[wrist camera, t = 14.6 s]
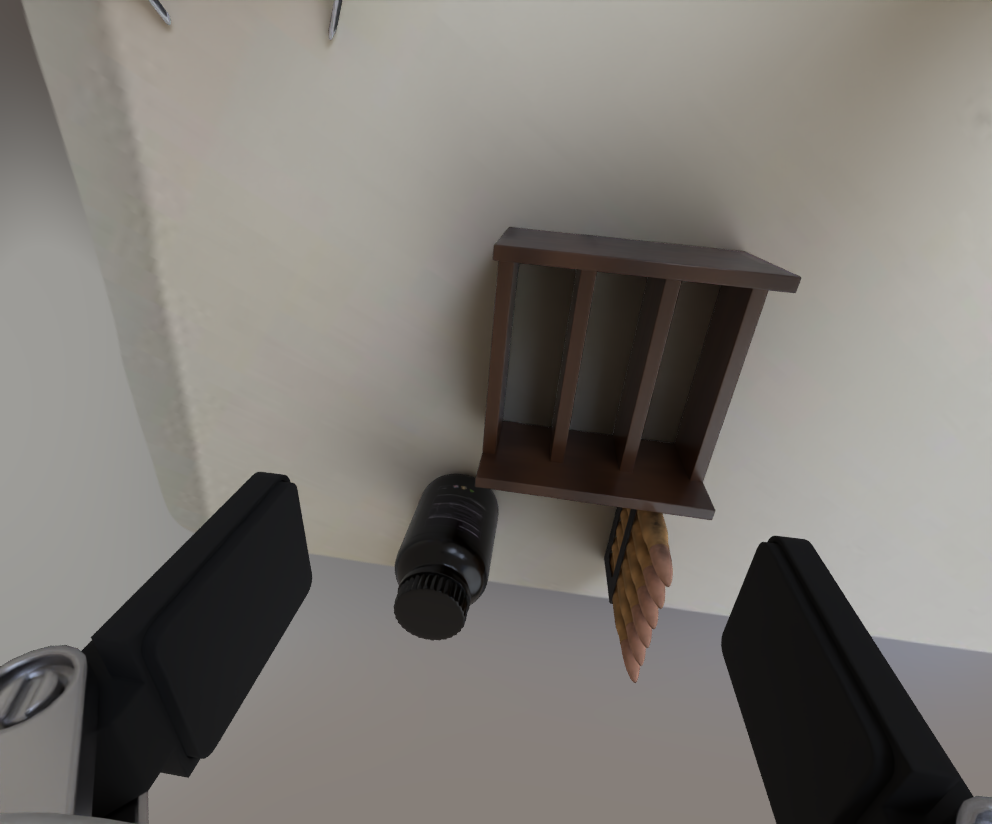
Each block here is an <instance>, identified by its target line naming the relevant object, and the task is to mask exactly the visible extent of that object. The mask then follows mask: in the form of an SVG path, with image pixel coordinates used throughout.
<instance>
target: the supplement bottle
mask: <svg viewBox="0 0 992 824" xmlns="http://www.w3.org/2000/svg"><path fill="white" fill-rule="evenodd" d="M475 480H476V478H474V477H472V476H469V475H464V474H449V475H444V476H441V477H439V478H437V479H435V480H434V481H432V482H431V483H430V484H429V485H428V486H427V487H426V489H425V490H424V492H423V494H422V496H421V499H420V501H419V503H418V506H417V508H416V510H415V513H414V515H413V518H412V520H411V523H410V525H409V527H408V530H407V532H406V535H405V537H404V540H403V542H402V544H401V547H400V549H399V552H398V555H397V558H396V561H395V575H396V579H397V582H398V584H399V588H398V594H397V597H396V599H395V604H394V614H395V615H396V619H397V620H398V623H399V624H400V625H401V626H402V627H403V628H404V629H406V631H407V632H410V633H411V634H412V635H415V636H418V637H419V638H424V639H430V640H441V639H447V638H451V637H452V636H453V635H456V634H457V633H458V632H460V631H461V628H463V627H464V624H465V621H466V616H467V612H468V610H469V606H470V605H471V604H473V603H474V602H475V601H476V600H477V599H478V598H479V597H480V596H481V595H482V593H483V592H484V590H485V588H486V585H487V581H488V576H489V570H490V564H491V558H492V552H493V546H494V539H495V533H496V527H497V520H498V503H497V500H496V497H495V495H494V494H493V492H492V491H491V489H487V488H480V487H475Z"/></svg>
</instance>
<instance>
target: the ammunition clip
mask: <svg viewBox="0 0 992 824" xmlns="http://www.w3.org/2000/svg"><path fill="white" fill-rule="evenodd" d="M604 560H605V569H606V577H607V585H608V593H609V602H610V603H611V604H613V609H614V617H615V624H616V629H617V632H618V635H619V638H620V644H621V648H622V655H623V659H624V663H625V666H626V669H627V672H628V674H629V676H630V678H631V680H632V681H633V682H634V683H636V682H637V680H638V676H639V670H640V666H642V665H643V662H644V659H645V650H646V648H648V647H649V645H650V642H651V635H652V629H655V628H656V625H657V621H658V608H660V609H661V608H662V607H663V605H664V601H665V586H666V587H669V586H670V585H671V582H672V575H673V568H672V560H671V555H670V550H669V545H668V533H667V528H666V524H665V521H664V517H663V514H662V513H657V512H650V511H643V510H636V509H629V508H622V507H617V509H616V513H615V517H614V521H613V525H612V529H611V533H610V537H609V541H608V545H607V549H606V553H605V557H604Z"/></svg>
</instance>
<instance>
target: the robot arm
mask: <svg viewBox="0 0 992 824" xmlns="http://www.w3.org/2000/svg"><path fill="white" fill-rule="evenodd" d="M311 583H312V572H311V566H310V561H309V555H308V549H307V543H306V537H305V531H304V525H303V519H302V514H301V508H300V502H299V496H298V490H297V486H296V485H295V484H294V483H291V482H290V479H289V478H288V476H286V475H282V474H274V473H266V472H257V473H255V474H254V475H253V476H252V477H251V478H250V479H249V480H248V481H247V482H246V483H245V484H244V485H243V486H242V487H241V488H240V489H239V490H238V491H237V492H236V493H235V494H234V495H233V496H232V497H231V498H230V499H229V500H228V501H227V502H226V503H225V504H224V505H223V506H222V507H221V508H220V509H219V510H218V511H217V512H216V513H215V514H214V515H213V516H212V517H211V518H210V519H209V520H208V521H207V522H206V523H205V524H204V525H203V526H202V527H201V528H200V529H199V530H198V531H197V532H196V533H195V534H194V535H193V536H192V537H191V538H190V539H189V540H188V541H187V542H186V543H185V544H184V545H183V546H182V547H181V548H180V549H179V550H178V551H177V552H176V553H175V554H174V555H173V556H172V557H171V558H170V559H169V560H168V561H167V562H166V563H165V564H164V565H163V566H162V567H161V568H160V569H159V570H158V571H157V572H156V573H155V574H154V575H153V576H152V577H151V578H150V579H149V580H148V581H147V582H146V583H145V584H144V585H143V586H142V587H141V588H140V589H139V590H138V591H137V592H136V593H135V594H134V595H133V596H132V597H131V598H130V599H129V600H128V601H127V602H126V603H125V604H124V605H123V606H122V607H121V608H120V609H119V610H118V611H117V612H116V613H115V614H114V615H113V616H112V617H111V618H110V619H109V620H108V621H107V622H106V623H105V624H104V625H103V626H102V627H101V628H100V629H99V630H98V631H97V632H96V633H95V634H94V635H93V636H92V637H91V638H92V641H91V642H90V643H89V644H88V645H87V646H86V647H85V648H84V649H83V650H82V651H80V650H79V649H78V648H74V647H71V646H67V645H60V646H48V647H44V648H41V649H37V650H33V651H30V652H28V653H26V654H23V655H21V656H19V657H16V658H14V659H12V660H10V661H8V662H7V663H5V664H4V665H2V666H0V824H148V790H149V789H150V787H151V786H152V784H153V783H154V781H155V780H156V778H157V777H158V775H159V774H160V772H161V773H166V774H172V775H177V776H182V777H189V776H190V775H191V773H192V772H193V770H194V768H195V766H196V765H197V763H198V762H199V760H200V758H201V759H202V758H203V759H204V758H206V757H208V756H209V755H210V754H211V753H212V752H213V750H214V749H215V747H216V746H217V744H218V742H219V741H220V739H221V737H222V736H223V734H224V733H225V731H226V729H227V728H228V726H229V724H230V723H231V721H232V719H233V718H234V716H235V714H236V713H237V711H238V709H239V708H240V706H241V704H242V703H243V701H244V699H245V698H246V696H247V694H248V693H249V691H250V689H251V688H252V686H253V684H254V683H255V681H256V679H257V677H258V676H259V674H260V673H261V671H262V669H263V667H264V666H265V664H266V662H267V661H268V659H269V657H270V656H271V654H272V652H273V651H274V649H275V647H276V646H277V644H278V642H279V641H280V639H281V637H282V636H283V634H284V632H285V631H286V629H287V627H288V626H289V624H290V622H291V621H292V619H293V617H294V615H295V614H296V612H297V611H298V609H299V607H300V606H301V604H302V602H303V601H304V599H305V597H306V596H307V594H308V592H309V590H310V587H311ZM721 643H722V644H721V646H722V652H723V656H724V659H725V663H726V666H727V669H728V672H729V675H730V678H731V681H732V685H733V688H734V691H735V694H736V697H737V701H738V703H739V707H740V710H741V713H742V716H743V719H744V722H745V725H746V729H747V732H748V735H749V738H750V741H751V744H752V748H753V751H754V754H755V757H756V760H757V764H758V767H759V770H760V773H761V776H762V779H763V782H764V786H765V789H766V792H767V795H768V798H769V801H770V805H771V808H772V811H773V814H774V817H775V820H776V823H777V824H992V797H983V796H975V797H973V795H972V794H971V792H970V790H969V789H968V787H967V786H966V784H965V783H964V781H963V779H962V778H961V776H960V775H959V773H958V772H957V770H956V768H955V767H954V766H953V764H952V762H951V761H950V759H949V758H948V756H947V754H946V753H945V751H944V750H943V748H942V747H941V745H940V743H939V742H938V740H937V739H936V737H935V736H934V734H933V733H932V731H931V729H930V728H929V726H928V725H927V723H926V722H925V720H924V719H923V717H922V715H921V714H920V712H919V711H918V709H917V708H916V706H915V705H914V703H913V701H912V700H911V698H910V697H909V695H908V694H907V692H906V690H905V689H904V687H903V686H902V684H901V683H900V681H899V680H898V678H897V676H896V675H895V673H894V672H893V670H892V669H891V667H890V665H889V664H888V662H887V661H886V659H885V658H884V656H883V655H882V653H881V651H880V650H879V648H878V647H877V645H876V644H875V642H874V641H873V639H872V637H871V636H870V634H869V633H868V631H867V630H866V628H865V627H864V625H863V624H862V622H861V620H860V619H859V617H858V616H857V614H856V613H855V611H854V609H853V608H852V606H851V605H850V603H849V602H848V600H847V599H846V597H845V595H844V594H843V592H842V591H841V589H840V588H839V586H838V585H837V583H836V581H835V580H834V578H833V577H832V575H831V574H830V572H829V570H828V569H827V567H826V566H825V564H824V563H823V561H822V560H821V558H820V556H819V555H818V553H817V552H816V550H815V549H814V547H813V545H812V544H811V543H810V542H809V541H807V540H805V539H798V538H790V537H781V536H772V537H771V538H770V539H769V540H768V542H761V543H760V544H759V546H758V548H757V550H756V553H755V555H754V558H753V560H752V563H751V565H750V567H749V570H748V572H747V575H746V577H745V580H744V582H743V585H742V587H741V590H740V592H739V595H738V597H737V600H736V602H735V604H734V607H733V609H732V612H731V614H730V617H729V619H728V622H727V624H726V627H725V629H724V632H723V635H722V642H721Z"/></svg>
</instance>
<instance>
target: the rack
mask: <svg viewBox="0 0 992 824" xmlns="http://www.w3.org/2000/svg"><path fill="white" fill-rule="evenodd" d="M493 260H495V261H498V273H497V285H496V297H495V309H494V321H493V332H492V344H491V356H490V368H489V380H488V392H487V404H486V416H485V428H484V440H483V452H482V456H481V460H480V463H479V467H478V471H477V474H476V480H475V487H480V488H487V489H494V490H501V491H508V492H516V493H523V494H530V495H537V496H544V497H551V498H558V499H565V500H572V501H579V502H586V503H594V504H601V505H608V506H615V507H622V508H629V509H636V510H643V511H650V512H657V513H664V514H672V515H679V516H686V517H693V518H700V519H707V520H712V518H713V516H714V513H715V509H714V506H713V504H712V502H711V500H710V497H709V495H708V493H707V491H706V489H705V486H704V484H703V480H704V477H705V474H706V471H707V468H708V465H709V463H710V460H711V457H712V454H713V451H714V448H715V445H716V442H717V439H718V436H719V433H720V430H721V428H722V425H723V422H724V419H725V416H726V413H727V410H728V407H729V404H730V401H731V398H732V395H733V393H734V390H735V387H736V384H737V381H738V378H739V375H740V372H741V369H742V366H743V363H744V361H745V358H746V355H747V352H748V349H749V346H750V343H751V340H752V337H753V334H754V331H755V328H756V326H757V323H758V320H759V317H760V314H761V311H762V308H763V305H764V302H765V299H766V296H767V293H768V291H769V290H770V291H779V292H789V293H796V291H797V288H798V286H799V283H800V280H801V277H800V276H798V275H796V274H793V273H791V272H789V271H787V270H785V269H782V268H780V267H778V266H776V265H774V264H772V263H769V262H767V261H765V260H763V259H761V258H759V257H756V256H754V255H752V254H750V253H748V252H745V251H737V250H727V249H717V248H708V247H698V246H689V245H679V244H669V243H660V242H650V241H640V240H631V239H621V238H612V237H602V236H593V235H583V234H573V233H563V232H554V231H544V230H535V229H525V228H516V227H509V228H508V229H507V230H506V231H505V233H504V234H503V235H502V236H501V237H500V239H499V240H498V241H497V242H496V243H495V244H494V251H493ZM519 263H522V264H531V265H541V266H550V267H559V268H568V269H576V273H575V280H574V286H573V292H572V299H571V305H570V311H569V318H568V324H567V330H566V337H565V343H564V350H563V356H562V362H561V369H560V375H559V381H558V388H557V394H556V401H555V407H554V413H553V420H552V426H551V427H546V426H539V425H531V424H523V423H516V422H508V421H503V414H504V404H505V395H506V385H507V375H508V366H509V356H510V346H511V337H512V327H513V317H514V307H515V298H516V288H517V278H518V269H519ZM597 272H605V273H614V274H623V275H632V276H642V277H648V279H647V284H646V288H645V292H644V297H643V301H642V306H641V310H640V315H639V319H638V323H637V328H636V332H635V337H634V341H633V346H632V350H631V354H630V359H629V363H628V368H627V372H626V377H625V381H624V386H623V390H622V394H621V399H620V403H619V408H618V412H617V417H616V421H615V425H614V430H613V434H612V435H607V434H600V433H592V432H584V431H577V430H569V427H570V422H571V416H572V410H573V405H574V399H575V394H576V388H577V382H578V377H579V371H580V365H581V360H582V354H583V348H584V343H585V337H586V331H587V326H588V320H589V314H590V309H591V303H592V297H593V292H594V286H595V280H596V275H597ZM682 281H688V282H697V283H706V284H715V285H721V288H720V291H719V294H718V298H717V301H716V305H715V308H714V311H713V315H712V318H711V321H710V325H709V328H708V332H707V335H706V338H705V342H704V345H703V348H702V352H701V355H700V358H699V362H698V365H697V369H696V372H695V375H694V379H693V382H692V385H691V389H690V392H689V396H688V399H687V402H686V406H685V409H684V412H683V416H682V419H681V423H680V426H679V429H678V433H677V436H676V439H675V443H668V442H661V441H653V440H645V439H641V437H642V433H643V429H644V425H645V422H646V418H647V414H648V410H649V406H650V402H651V398H652V394H653V391H654V387H655V383H656V379H657V375H658V371H659V367H660V363H661V360H662V356H663V352H664V348H665V344H666V340H667V336H668V332H669V329H670V325H671V321H672V317H673V313H674V309H675V305H676V301H677V298H678V294H679V290H680V286H681V282H682Z"/></svg>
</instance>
